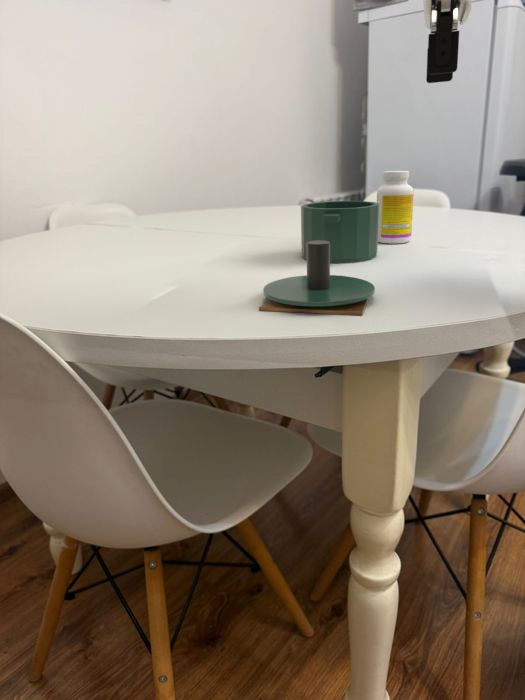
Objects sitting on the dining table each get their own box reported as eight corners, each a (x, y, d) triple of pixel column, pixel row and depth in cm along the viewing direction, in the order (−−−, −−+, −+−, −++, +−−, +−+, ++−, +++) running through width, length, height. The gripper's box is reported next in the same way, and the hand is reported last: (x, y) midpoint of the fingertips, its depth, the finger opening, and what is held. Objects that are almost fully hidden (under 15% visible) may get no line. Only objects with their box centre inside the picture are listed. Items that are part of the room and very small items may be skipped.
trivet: (373, 288, 70) (373, 285, 70) (362, 315, 59) (362, 311, 59) (284, 285, 73) (284, 282, 73) (258, 310, 63) (258, 307, 63)
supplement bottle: (417, 242, 101) (422, 170, 96) (385, 245, 99) (388, 172, 95) (400, 237, 107) (403, 169, 102) (369, 240, 105) (371, 171, 101)
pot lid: (379, 284, 70) (381, 233, 68) (367, 314, 58) (369, 253, 56) (279, 281, 74) (278, 233, 72) (249, 308, 62) (246, 251, 60)
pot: (381, 246, 98) (383, 198, 95) (370, 267, 82) (372, 210, 79) (313, 246, 102) (313, 199, 99) (290, 265, 86) (289, 211, 83)
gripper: (494, -140, 50) (480, 65, 56) (477, -73, 66) (467, 82, 72) (411, -123, 52) (406, 72, 58) (413, -62, 68) (409, 87, 74)
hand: (440, 77), depth 65 cm, fingers open, 9 cm apart
